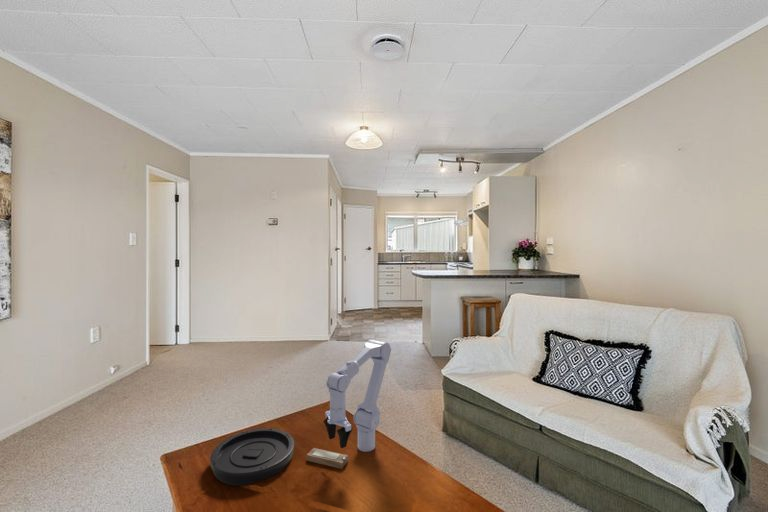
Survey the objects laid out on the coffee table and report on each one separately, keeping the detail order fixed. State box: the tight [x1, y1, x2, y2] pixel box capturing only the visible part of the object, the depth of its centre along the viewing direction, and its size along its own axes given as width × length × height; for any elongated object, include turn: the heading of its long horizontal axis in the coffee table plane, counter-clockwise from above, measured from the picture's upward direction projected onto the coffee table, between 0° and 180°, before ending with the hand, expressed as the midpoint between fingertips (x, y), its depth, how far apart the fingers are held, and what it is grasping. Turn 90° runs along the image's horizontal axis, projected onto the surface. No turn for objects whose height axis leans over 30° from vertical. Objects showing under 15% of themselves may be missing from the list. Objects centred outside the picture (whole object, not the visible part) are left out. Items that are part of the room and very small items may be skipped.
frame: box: [306, 447, 349, 470], centre depth 130 cm, size 5×15×3 cm, turn 71°
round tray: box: [209, 428, 295, 487], centre depth 131 cm, size 30×6×30 cm
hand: (337, 442), depth 127 cm, fingers open, 7 cm apart
